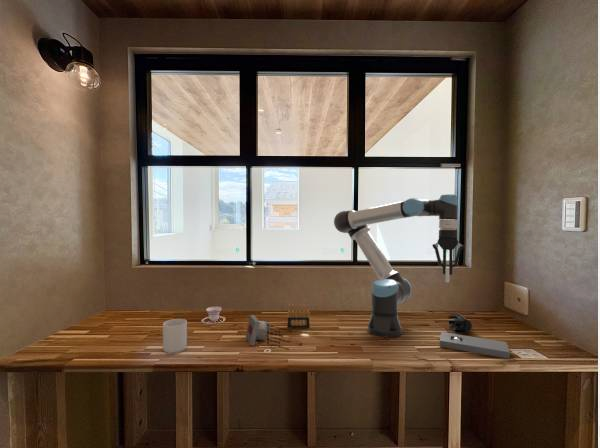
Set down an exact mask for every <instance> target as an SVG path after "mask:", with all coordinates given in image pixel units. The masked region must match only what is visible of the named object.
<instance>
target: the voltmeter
mask: <svg viewBox="0 0 600 448" xmlns="http://www.w3.org/2000/svg"><path fill="white" fill-rule="evenodd" d="M273 328H275V329H273ZM276 329H279V330H276ZM281 330H284V331H287V332H291V333H292V332H293V330H291V329H289V328H283V327H278V326H275V325H271V324H269V322H267V321H264V320H259V319H258V316H257V317H256V316H255V314H250V316H249V319H248V324H247V330H246V333H245V338H246V340H247V341H248V343H249V345H250V346H255V345H256V344H258V342H257V341H266V344H267V345H268V346H269V345H270V346H269V347H270V348H271V349H274V350H275V347H278V348H280V349H284V350H288V351H289V348H288V347H283V346H280V344H281V342H285V343H289V344H291V341H290V340H286V339H281V338H283V337H284V335H282V334H278V333H281ZM270 331H272V332H270ZM273 331H274V332H277V333H274V332H273ZM269 334H271V335H272V336H271V335H269ZM273 335H274V336H278V337H273ZM279 337H280V338H279ZM272 339H273V340H272ZM274 339H275V340H274ZM277 340H278V341H277ZM269 341H270V342H273V343H276V344H279V345H276V344H273V343H270V342H269ZM279 341H280V342H279ZM272 346H273V347H272Z"/></svg>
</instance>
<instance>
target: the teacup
mask: <svg viewBox="0 0 600 448" xmlns="http://www.w3.org/2000/svg"><path fill="white" fill-rule="evenodd" d="M205 311H206V312H207V315H208V316H207V317H206V316H205V317H204V318H202V319H201V323H203V324H205V325H214V324H215V325H216V324H221V323H223V322H225V321H226V317H225V316H221V315H220V313H221V311H222V306H210V307H207V308H206V309H205ZM219 317H220V318H223V321H221V320H220V321H221V322H218V323H208V322H209V321H210V322H216V321H218V319H219ZM207 318H209V319H210V320H209V321H208V322H207V323H205V322H204V320H205V319H207Z"/></svg>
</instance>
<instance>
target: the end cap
mask: <svg viewBox="0 0 600 448" xmlns="http://www.w3.org/2000/svg"><path fill="white" fill-rule="evenodd" d="M449 319H453V320H449ZM448 327H449V329H451V330H452V332H453V333H454V334H462V335H463V334H468V333H469V332H470V331H471V330H472V329H473V325H472V322H471V321H470V320H469V319H467V317H465V316H464V315H462V313H459V312H457V313H456V314H448Z"/></svg>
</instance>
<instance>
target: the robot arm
mask: <svg viewBox="0 0 600 448" xmlns="http://www.w3.org/2000/svg"><path fill="white" fill-rule="evenodd" d="M458 202H459V201H458V196H457V195H456V194H441V195H439V196H438V199H420V198H417V197H413V198H412V197H411V198H408V199H406V200H402V201H397V202H393V203H389V204H384V205H378V206H375V207H369V208H366V209H359V210H353V209H350V210H342V211H339V212H338V213H337V214H336V215H335V217H334V220H333V225H334V227H335V229H336V230H337V231H338V232H340V233H343V234H348V235H349V237H350V239H351V240H354V241H355V242H356V243H357V245H358V247H359V248H360V250H361V252H362V254H363V255H364V257H365V258H366V260H367V261H368V263H369V265H370V267H372V270H373V271H374V273H375V275H376V276H377V278H378V279H377V280H375V281H373V282H372V283H371V284H372V286H371V287H372V288H371V316H370V318H369V321H368V324H367V331H368V333H369V334H372V335H374V336H377V337H381V338H395V337H399V336H401V335H402V332H403V331H402V325H401V322H400V319H399V317H398V316H399V315H398V313H399V309H398V308H399V305H400V304H402V303H404V302H406V301H408V300H409V299H410V297H411V295H412V291H413V290H412V284H411V283H410V281H408V279H406V278H404V277H403V276H402V275H401V274H400V272H399V271H395V270H394V269H393V267H392V266H391V264H390V262H389V260H388V259H387V258H386V256H385V254H384V253H383V252H382V249H381V248H380V247H379V245H378V244H377V242H376V240H375V239H374V238H373V235H372V233H371V232H370V231H371V227H370V226H369V225H373V224H378V223H383V222H389V221H394V220H400V219H405V218H412V217H438V229H439V230H438V240H437V242H435V243H434V244H432V245H431V246H432V248H433V249H434V252H435V257H436V259H437V263H438V264H437V265H438V266H440V267H442V274H443V275H445V283H450V276H452V275H453V268H455V267H457V266H458V262H459V259H460V255H461V252H462V250H463V249H464V245H463V244H461V243H459V240H458V230H457V229H458V210H459V207H458V205H459V203H458ZM439 247H440V248H441V249H442V259H441V256H440V250H439ZM455 248H457V252H456V256H455V260H454V263H453V257H454V256H453V254H454V253H453V250H454V249H455ZM447 251H448V254H449V255H448V262H449V263H448V265H449V266H447Z"/></svg>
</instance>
